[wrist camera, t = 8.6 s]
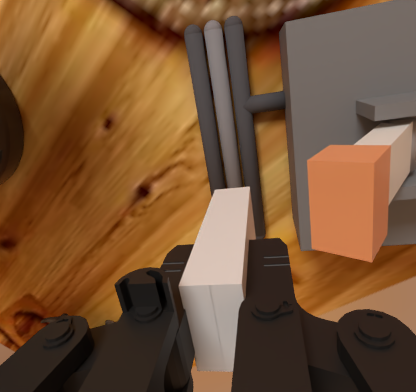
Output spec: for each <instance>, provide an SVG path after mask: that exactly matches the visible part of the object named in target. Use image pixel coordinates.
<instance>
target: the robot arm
mask: <svg viewBox="0 0 416 392" xmlns="http://www.w3.org/2000/svg"><path fill="white" fill-rule="evenodd" d="M22 150H23V127H22V121H21V117H20V113H19V110H18V107H17V105H16V102H15V100H14V98H13V96H12V94H11V92H10V90H9V88H8V87H7V85H6V84H5V82H4V81H3V79H2V78H1V76H0V184H2V183H3V182H5V181H6V180H7V179H8V178H9V177H10V176H11V175H12V174H13V173H14V171H15V170H16V168H17V166H18V164H19V162H20V159H21V155H22ZM115 288H116V292H117V295H118V298H119V301H120V305H121V308H122V311H123V313H122V315H121V317H120V319H119V320H118V321H117V322H114V323H111V324H107V325H103V326H100V327H96V328H92V329H90V328H89V325H88V323H87V321H86V319H85V318H83V317H81V316H68V317H64V318H60V319H58V320H56V321H54V322H52V323H49V324H48V325H47V326H45V327H44V328H42V329H41V330H40V331H39V332H37V333H36V334H35V335H34V336H33V337H32V338H31V339H30V340H28V341H27V342H26V343H25V344H24V345H23V346H22V347H21V348H19V349H18V350H17V351H16V352H15V353H14V354H13V355H12V356H10V358H8V359H7V360H6V361H5V362H4V363H3V364H1V365H0V392H193V379H192V375H191V369H192V364H193V360H194V357H195V362H196V366H197V370H198V371H230V372H233V378H232V389H231V392H416V335H415V334H414V333H413V332H412V331H411V330H410V329H409V328H408V327H407V326H406V325H405V324H403V323H402V322H401V321H400V320H398V319H397V318H395V317H393V316H390V315H388V314H386V313H384V312H380V311H375V310H370V309H364V310H354V311H351V312H349V313H346V314H345V315H344V316H343V317H342V318H341V319H340V320H339V321H338V322H333V321H328V320H324V319H321V318H318V317H315V316H313V315H311V314H309V313H307V312H306V311H305V310H304V309H302V308H301V307H300V305H299V304H298V303H297V301H296V298H295V294H294V287H293V281H292V275H291V268H290V262H289V256H288V249H287V245H286V244H285V243H284V242H283V241H282V240H281V239H280V238H271V239H256V235H255V227H254V218H253V209H252V201H251V192H250V187H239V188H229V189H218V190H215V191H214V193H213V196H212V199H211V201H210V204H209V207H208V209H207V212H206V215H205V217H204V220H203V223H202V225H201V228H200V231H199V233H198V236H197V238H196V241H195V244H191V245H177V246H176V247H175V248H173V249H172V250H171V251H170V252H169V253H168V254H167V256H166V257H165V259H164V261H163V264H162V265H161V267H160V269H159V268H151V267H149V268H143V269H138V270H135V271H133V272H130V273H128V274H127V275H125V276H123V277H122V278H120V279H119V280H118V281H117V282H116V284H115Z"/></svg>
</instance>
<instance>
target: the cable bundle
mask: <svg viewBox="0 0 416 392" xmlns="http://www.w3.org/2000/svg"><path fill="white" fill-rule="evenodd" d="M224 29H225V37H226V44H227V52H228V60H229V68H230V75H231V83H232V91H233V99H234V106H235V114H236V122H237V129H238V137H239V145H240V153H241V160H242V168H243V176H244V184H245V187H250V192H251V201H252V209H253V218H254V227H255V235H256V239H263V238H264V237H265V234H266V232H265V223H264V214H263V205H262V196H261V187H260V178H259V169H258V160H257V151H256V142H255V133H254V124H253V115H252V114H253V113H260V112H267V111H273V110H280V109H285V108H286V103H285V93H284V91H280V92H274V93H268V94H262V95H255V96H250V88H249V79H248V70H247V61H246V52H245V43H244V34H243V25H242V21H241V20H240V18H238V17H237V16H231V17H229V18H228V19H227V20H226V22H225V25H224ZM204 34H205V41H206V48H207V54H208V61H209V68H210V74H211V81H212V88H213V94H214V101H215V108H216V114H217V121H218V128H219V134H220V141H221V148H222V154H223V161H224V168H225V174H226V181H227V188H228V189H229V188H239V187H243V185H242V177H241V170H240V162H239V155H238V147H237V139H236V132H235V124H234V117H233V109H232V102H231V94H230V86H229V79H228V71H227V64H226V56H225V48H224V41H223V33H222V27H221V25H220V23H219V22H217V21H215V20H211V21H209V22H208V23H207V24H206V25H205V28H204ZM184 37H185V42H186V48H187V54H188V60H189V66H190V72H191V78H192V83H193V89H194V95H195V101H196V107H197V113H198V119H199V125H200V130H201V136H202V142H203V148H204V154H205V160H206V166H207V171H208V177H209V183H210V189H211V195H212V196H213V193H214V191H215V190H218V189H226V188H225V181H224V175H223V168H222V162H221V155H220V148H219V142H218V135H217V129H216V122H215V116H214V109H213V103H212V96H211V89H210V83H209V76H208V70H207V63H206V57H205V50H204V43H203V37H202V31H201V29H200V28H199V27H198V26H197V25H189V26H188V27H187V28H186V29H185V32H184Z"/></svg>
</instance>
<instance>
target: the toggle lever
mask: <svg viewBox="0 0 416 392" xmlns="http://www.w3.org/2000/svg"><path fill="white" fill-rule="evenodd" d="M307 169H308V188H309V206H310V225H311V243H312V249H315V250H319V251H323V252H328V253H332V254H337V255H341V256H346V257H350V258H354V259H359V260H363V261H368V262H373V260H374V258H375V256H376V254H377V252H378V251H379V249H380V247H381V245H382V243H383V242H384V240H385V238H386V236H387V230H388V206H389V204H390V202H391V201H392V199H393V198H394V196H395V194H396V193H397V191H398V190H399V188H400V187H401V185H402V183H403V182H404V180H405V179H406V177H407V175H408V174H409V172H411V171H414V170H415V169H416V117H403V118H396V119H388V120H381V121H380V124H379V125H378V126H376V127H375V128H374V129H373V130H371V131H370V132H369V133H368V134H366V135H365V136H364V137H363V138H361V139H360V140H359V141H358V142H356V143H355V144H354V145H329V146H328V147H326V148H325V149H323V150H322V151H320V152H319V153H317V154H316V155H314V156H313V157H311V158H310V159H309V160H307Z"/></svg>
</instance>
